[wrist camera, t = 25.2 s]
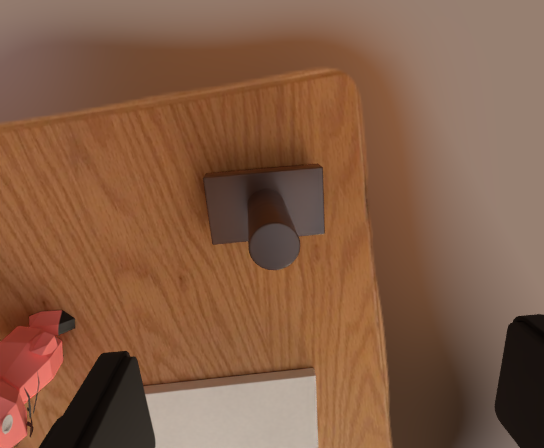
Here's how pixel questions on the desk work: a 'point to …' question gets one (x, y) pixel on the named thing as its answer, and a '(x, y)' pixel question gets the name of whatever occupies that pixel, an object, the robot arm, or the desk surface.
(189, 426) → the tile
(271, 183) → the stamp
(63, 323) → the cat figurine
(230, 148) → the desk surface
